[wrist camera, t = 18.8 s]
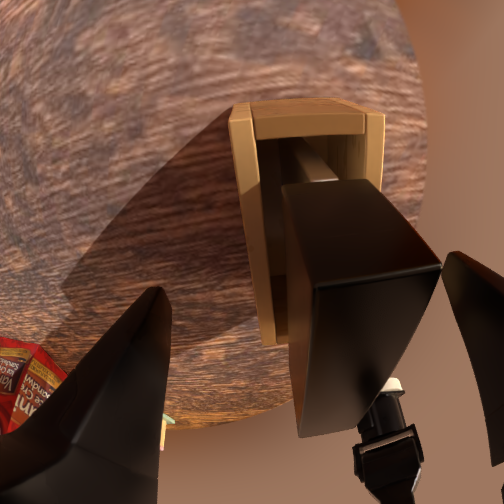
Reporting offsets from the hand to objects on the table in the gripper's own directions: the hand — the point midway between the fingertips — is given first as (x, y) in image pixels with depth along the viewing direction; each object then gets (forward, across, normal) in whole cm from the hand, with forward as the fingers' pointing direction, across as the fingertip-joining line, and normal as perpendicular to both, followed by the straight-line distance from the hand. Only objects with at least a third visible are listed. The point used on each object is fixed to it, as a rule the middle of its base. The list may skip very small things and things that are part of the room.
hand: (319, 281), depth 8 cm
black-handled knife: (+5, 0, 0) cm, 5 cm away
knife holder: (+5, 0, 0) cm, 5 cm away
